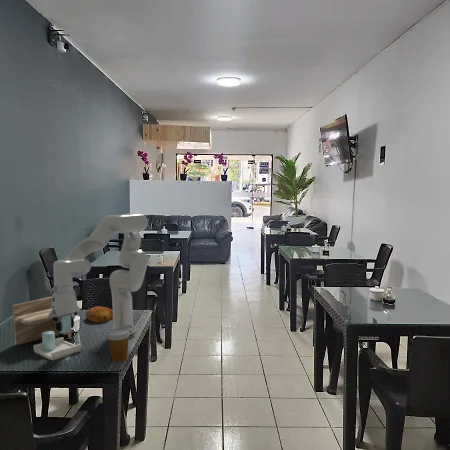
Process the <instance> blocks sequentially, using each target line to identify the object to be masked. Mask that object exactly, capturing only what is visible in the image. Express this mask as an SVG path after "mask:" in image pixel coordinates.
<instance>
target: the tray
mask: <svg viewBox="0 0 450 450" xmlns="http://www.w3.org/2000/svg"><path fill="white" fill-rule="evenodd" d="M82 351H83V344H82V343H79V344H74V343H72V342H69V341H68V340H65V339H64V337H59V336H58V337H57V338H56V335H55V333H54V331H46V332H43V333H42V338H41V342H40V343H37V344H33V353H34V352H35V354H36V353H37V355H38V354H40V355H39V356H41V355H42V356H41V357H43V356H44V357H43V358H45V357H46V358H45V359H47V358H48V359H47V360H49V359H50V361H51V360H52V362H55V361H57V359H58V360H60V359H63V358H66V357H68V356H71V355H74V354H77V353H80V352H82ZM54 360H55V361H54Z"/></svg>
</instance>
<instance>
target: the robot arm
mask: <svg viewBox="0 0 450 450" xmlns="http://www.w3.org/2000/svg"><path fill="white" fill-rule="evenodd" d="M148 225H149V220H148V217H147V216H146V215H144V214H143V213H123V214H108V215H105V217H103V219H102V220H101V221H100V223H98V225H97V226H96V228H94V230H93V231H92V232H91V234H90V235H89V236H88V237H86V238H85V239H83V240H82V241H81V242H79V243H77V244H76V245H75V246H73V248H72V249H71V250H69V251H68V253H67V254H66V256H65V257H64V258H63V259H61V260H60V259H59V260H58V259H57V260H55V261H54V262H53V266H52V267H53V269H52V270H53V287H51V292H53V293H52V310H51V312H50V313H49V315H48V317H49V318H51V319H52V320H54V321H55V323H56V330H57V331H62V328H61V322H60V319H61V316H64V315H68V314H71V329H74V328H75V318H76V316H77V315H78V313H79V312H80V310H81V307H79V305H78V301H77V300H78V299H77V295H76V291H75V290H74V289H73V288H74V287H73V286H74V285H73V276H83V275H87V274H88V273H89V272H90V270H91V269H92V265H91V262H90V261H89V260H88V259H86V258H85V257H87V256H88V255H89V254H92V253H94V252H97V251H100V250H103V249H104V248H105V247H106V246H107V244H108V243H109V242H110V240H111V239H112V238H113V237H114V235H115V234H123V241H122V242H123V243H122V245H121V249H120V253H119V256H118V265H119V266H121V267H122V268H126V269H129V270H126V269H117V270H116V269H115V270H114V271H113V272H111V273H110V275H109V286H110V291H111V298H112V299H111V300H112V310H113V318H112V321H113V323H112V324H113V325H112V326H113V327H112V329H111V330H113V329H118V328H124V329H128V330H129V333H130V335H129V336H131V335H133V334H135V333H136V332H137V330H138V329H137V327H135V324H134V321H133V296H132V293H133V292H137V291H138V290H140V288H141V287H142V284H143V282H144V279H145V275H146V271H147V268H148V263H149V258H148V255H147V253H146V252H145V251H143V250H140V247H141V242H142V237H141V234H140V232H144V231H145V230H146V229H147V227H148ZM53 315H55V317H54V316H53Z"/></svg>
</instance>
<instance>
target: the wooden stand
mask: <svg viewBox="0 0 450 450" xmlns="http://www.w3.org/2000/svg"><path fill="white" fill-rule="evenodd" d="M52 296H53V295H52ZM52 296H48V297H43V298H39V299H33V300H31V301H24V302H21V303H16V304H12V315H13V316H12V319H13V321H12V322H13V333H14V335H13V337H14V345H15V346H16V345H17V346H20V344H21V345H24V344H26V343H30V342H33V341H38V340H40V339H41V340H42V333H43V332H46V331H54V333H55V337H56V336H57V337H59V336H58V334H59V331H57V330H56V323H55V321H54V320H52V319H51V318H49V317H48V315H49V313H50V312H51V310H52ZM53 316H54V317H55V315H53ZM66 333H67V335H68V339H72V330H71V331H70V332H66ZM23 343H24V344H23Z"/></svg>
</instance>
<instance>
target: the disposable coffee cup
mask: <svg viewBox="0 0 450 450" xmlns="http://www.w3.org/2000/svg"><path fill="white" fill-rule="evenodd" d="M112 329H113V328H112ZM112 329H110V330H109V331H107V334H106V337H107V340H108V346H109V347H108V348H109V352H110V357H111V361H112V362H115V363H121V362H125V361H127V359H128V348H129V339H130V338H129V337H130V336H131V335H130V333H129V330H128V329H124V328H118V329H113V330H112Z"/></svg>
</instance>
